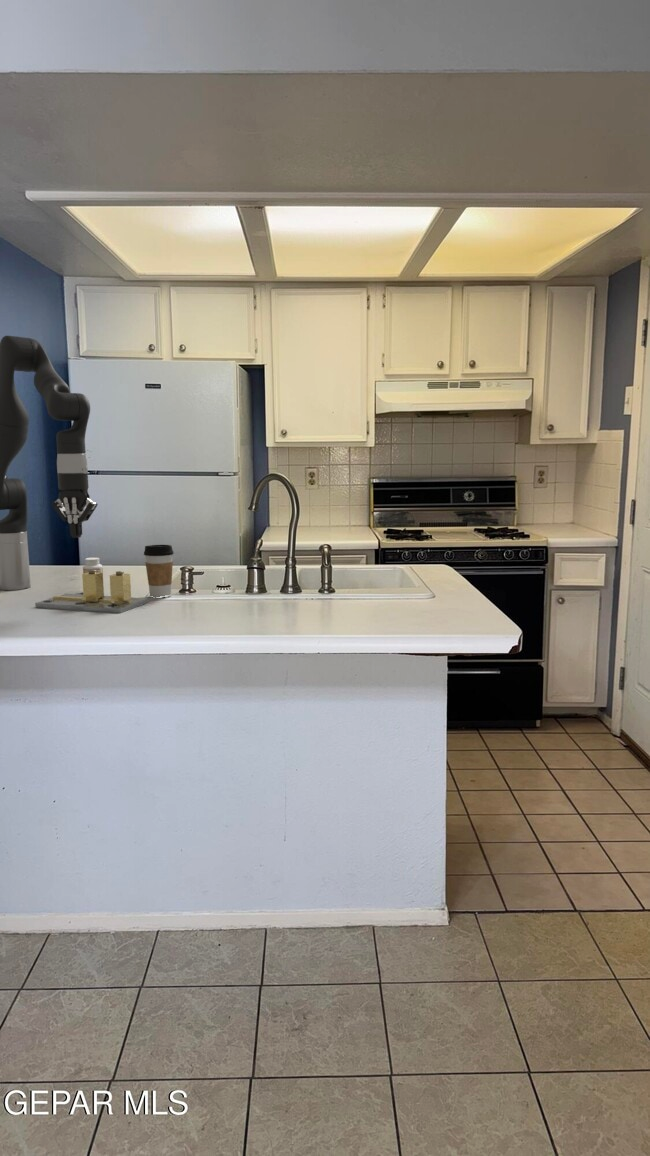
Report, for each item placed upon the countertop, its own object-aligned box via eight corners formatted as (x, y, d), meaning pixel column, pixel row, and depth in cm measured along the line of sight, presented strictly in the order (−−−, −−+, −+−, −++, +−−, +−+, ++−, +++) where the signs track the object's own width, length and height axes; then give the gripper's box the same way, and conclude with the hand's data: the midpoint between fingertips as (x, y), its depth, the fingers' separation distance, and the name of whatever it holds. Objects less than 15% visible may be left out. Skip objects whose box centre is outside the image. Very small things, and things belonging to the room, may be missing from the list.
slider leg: (77, 602, 206) (75, 572, 205) (91, 598, 212) (89, 569, 211) (90, 603, 205) (88, 573, 204) (104, 598, 211) (102, 569, 210)
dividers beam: (44, 601, 209) (42, 571, 208) (58, 597, 215) (56, 567, 214) (121, 606, 202) (120, 575, 201) (134, 601, 208) (133, 571, 207)
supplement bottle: (92, 590, 232) (90, 556, 230) (107, 591, 230) (105, 557, 228) (80, 593, 227) (78, 559, 225) (96, 594, 225) (94, 560, 223)
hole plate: (35, 607, 207) (35, 602, 207) (67, 597, 221) (66, 593, 220) (120, 613, 200) (120, 608, 200) (147, 602, 213) (147, 598, 213)
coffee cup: (140, 598, 219) (137, 546, 216) (153, 593, 227) (151, 542, 224) (167, 599, 217) (165, 547, 214) (180, 594, 225) (178, 543, 222)
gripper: (41, 471, 199) (46, 538, 202) (86, 472, 195) (90, 539, 198) (59, 470, 206) (63, 535, 209) (102, 471, 202) (106, 536, 205)
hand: (76, 537), depth 204 cm, fingers closed
